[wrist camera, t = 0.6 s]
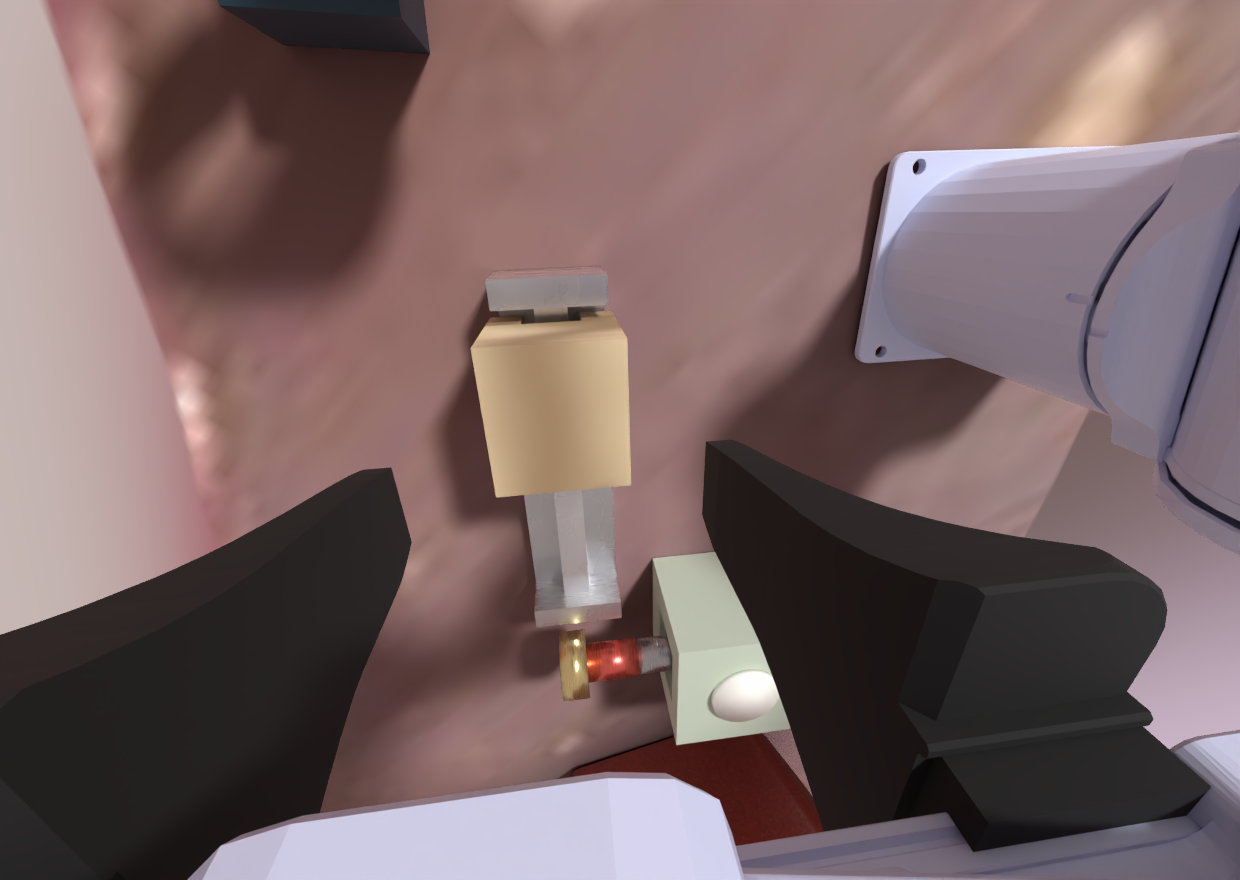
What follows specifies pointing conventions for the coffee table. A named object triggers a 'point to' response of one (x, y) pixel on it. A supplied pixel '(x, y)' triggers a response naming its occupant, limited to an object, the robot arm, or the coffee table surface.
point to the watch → (339, 23)
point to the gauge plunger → (608, 660)
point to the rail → (570, 520)
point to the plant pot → (731, 783)
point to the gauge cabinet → (711, 654)
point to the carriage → (554, 403)
